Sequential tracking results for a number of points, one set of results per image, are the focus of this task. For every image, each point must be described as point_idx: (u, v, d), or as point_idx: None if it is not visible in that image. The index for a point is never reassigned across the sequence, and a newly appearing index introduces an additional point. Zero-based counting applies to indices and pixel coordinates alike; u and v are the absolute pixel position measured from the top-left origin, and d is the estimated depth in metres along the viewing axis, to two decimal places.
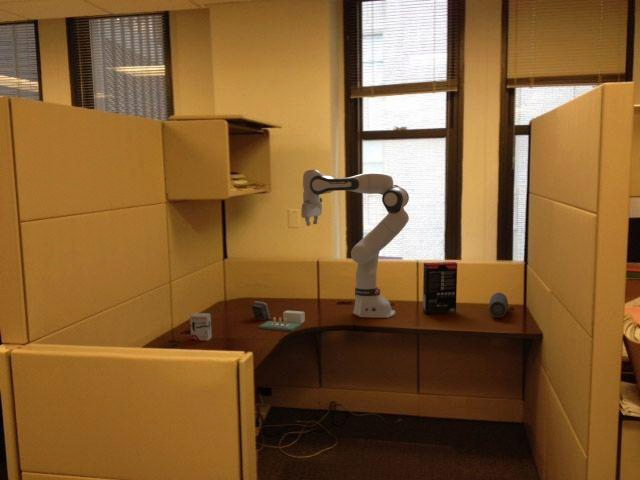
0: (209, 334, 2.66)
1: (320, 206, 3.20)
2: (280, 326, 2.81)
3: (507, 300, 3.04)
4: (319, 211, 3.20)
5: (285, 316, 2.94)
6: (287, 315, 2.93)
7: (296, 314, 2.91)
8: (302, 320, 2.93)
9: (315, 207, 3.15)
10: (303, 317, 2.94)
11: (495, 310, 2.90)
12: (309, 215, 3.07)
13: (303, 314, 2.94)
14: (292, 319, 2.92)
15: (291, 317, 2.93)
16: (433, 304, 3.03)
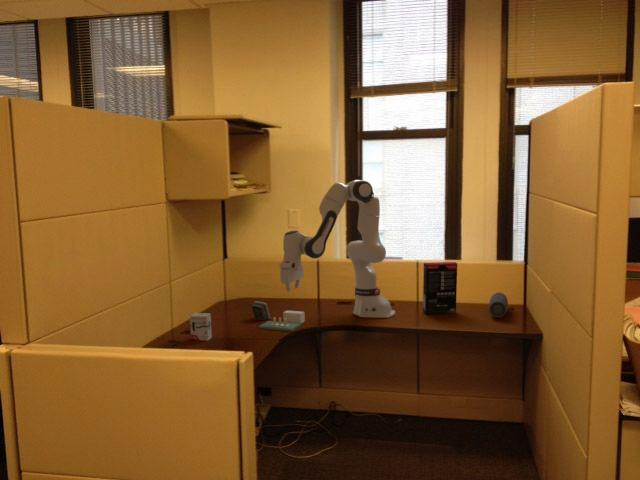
0: (209, 334, 2.66)
1: None
2: (280, 326, 2.81)
3: (507, 300, 3.04)
4: None
5: (285, 316, 2.94)
6: (287, 315, 2.93)
7: (296, 314, 2.91)
8: (302, 320, 2.93)
9: None
10: (303, 317, 2.94)
11: (495, 310, 2.90)
12: None
13: (303, 314, 2.94)
14: (292, 319, 2.92)
15: (291, 317, 2.93)
16: (433, 304, 3.03)
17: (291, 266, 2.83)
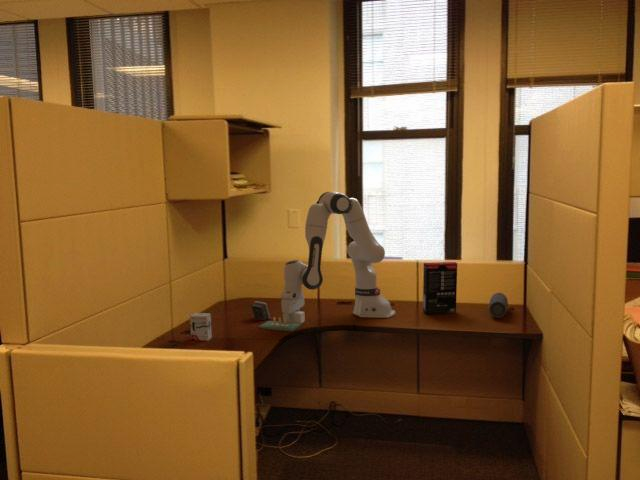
0: (209, 334, 2.66)
1: None
2: (280, 326, 2.81)
3: (507, 300, 3.04)
4: None
5: (285, 316, 2.94)
6: (287, 315, 2.93)
7: (296, 314, 2.91)
8: (302, 320, 2.93)
9: None
10: (303, 317, 2.94)
11: (495, 310, 2.90)
12: None
13: (303, 314, 2.94)
14: None
15: None
16: (433, 304, 3.03)
17: (292, 296, 2.85)
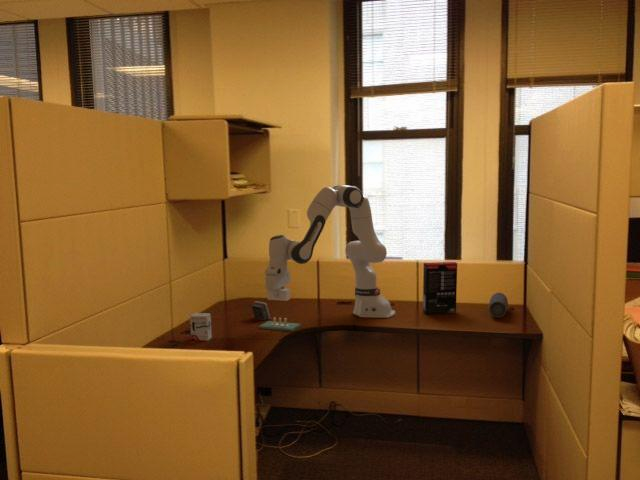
0: (209, 334, 2.66)
1: None
2: (280, 326, 2.81)
3: (507, 300, 3.04)
4: None
5: (270, 293, 2.82)
6: (271, 292, 2.82)
7: (281, 291, 2.80)
8: (287, 297, 2.81)
9: None
10: (289, 294, 2.82)
11: (495, 310, 2.90)
12: None
13: (288, 291, 2.82)
14: None
15: None
16: (433, 304, 3.03)
17: (277, 272, 2.73)
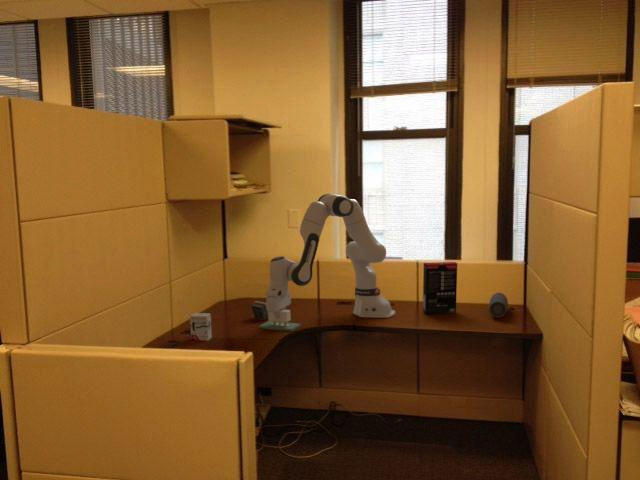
0: (209, 334, 2.66)
1: None
2: (280, 326, 2.81)
3: (507, 300, 3.04)
4: None
5: (270, 314, 2.83)
6: (272, 313, 2.83)
7: (282, 312, 2.81)
8: (288, 319, 2.82)
9: None
10: (289, 315, 2.83)
11: (495, 310, 2.90)
12: None
13: (289, 312, 2.83)
14: None
15: None
16: (433, 304, 3.03)
17: (277, 294, 2.74)
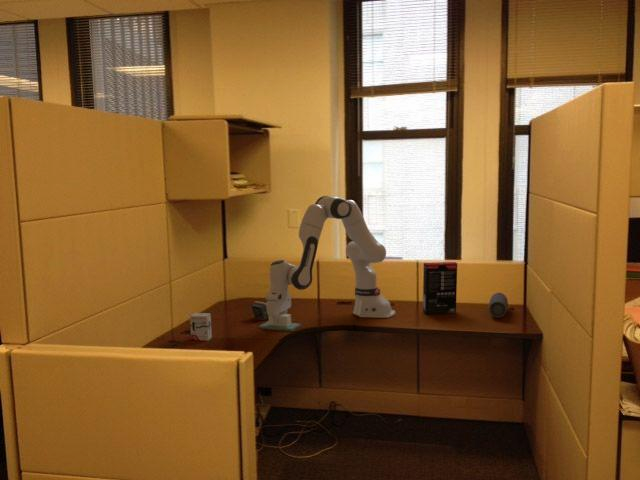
0: (209, 334, 2.66)
1: None
2: (280, 326, 2.81)
3: (507, 300, 3.04)
4: None
5: (271, 319, 2.84)
6: None
7: (282, 317, 2.81)
8: (288, 323, 2.82)
9: None
10: (290, 320, 2.84)
11: (495, 310, 2.90)
12: None
13: (289, 317, 2.83)
14: (278, 322, 2.82)
15: None
16: (433, 304, 3.03)
17: (277, 298, 2.75)
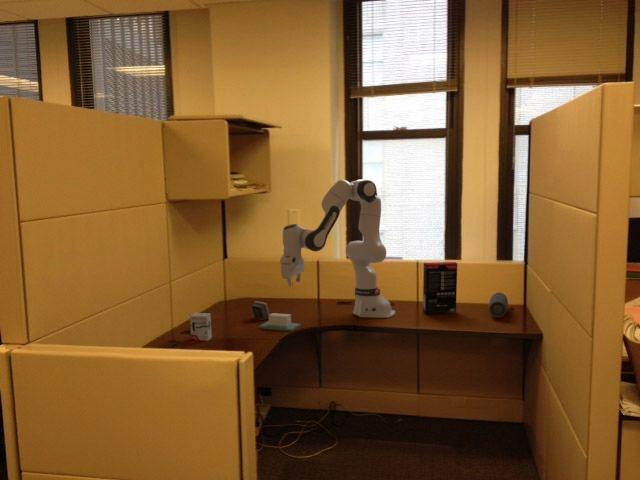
0: (209, 334, 2.66)
1: None
2: (280, 326, 2.81)
3: (507, 300, 3.04)
4: None
5: (271, 319, 2.84)
6: (273, 318, 2.83)
7: (282, 317, 2.81)
8: (288, 323, 2.82)
9: None
10: (290, 320, 2.84)
11: (495, 310, 2.90)
12: None
13: (289, 317, 2.83)
14: (278, 322, 2.82)
15: (277, 320, 2.82)
16: (433, 304, 3.03)
17: (292, 261, 2.79)
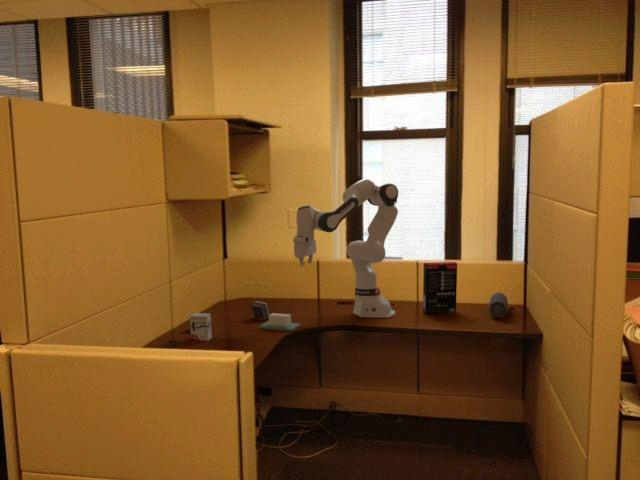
0: (209, 334, 2.66)
1: None
2: (280, 326, 2.81)
3: (507, 300, 3.04)
4: None
5: (271, 319, 2.84)
6: (273, 318, 2.83)
7: (282, 317, 2.81)
8: (288, 323, 2.82)
9: None
10: (290, 320, 2.84)
11: (495, 310, 2.90)
12: None
13: (289, 317, 2.83)
14: (278, 322, 2.82)
15: (277, 320, 2.82)
16: (433, 304, 3.03)
17: (305, 240, 2.86)
